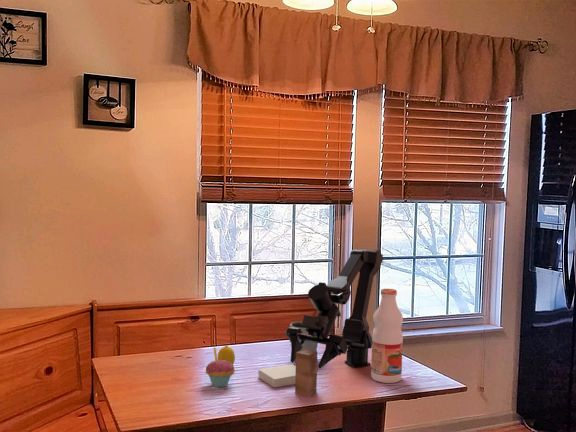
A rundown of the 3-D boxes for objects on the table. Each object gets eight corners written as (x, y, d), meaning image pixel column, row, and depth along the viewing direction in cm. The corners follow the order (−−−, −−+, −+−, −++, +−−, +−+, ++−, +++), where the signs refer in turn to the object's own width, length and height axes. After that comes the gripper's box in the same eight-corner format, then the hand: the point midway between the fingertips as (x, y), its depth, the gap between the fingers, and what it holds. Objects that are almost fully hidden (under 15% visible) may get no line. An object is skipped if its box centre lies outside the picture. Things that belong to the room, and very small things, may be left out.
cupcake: (211, 390, 169) (211, 349, 168) (201, 381, 176) (201, 342, 176) (238, 386, 173) (239, 346, 172) (228, 377, 180) (228, 339, 180)
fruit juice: (377, 371, 189) (379, 286, 187) (405, 377, 184) (408, 289, 183) (366, 380, 181) (368, 290, 179) (395, 385, 176) (398, 293, 175)
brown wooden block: (303, 389, 172) (304, 348, 171) (316, 392, 169) (317, 351, 169) (295, 393, 168) (295, 352, 167) (308, 396, 166) (309, 355, 165)
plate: (291, 371, 187) (291, 364, 187) (308, 381, 179) (308, 373, 179) (258, 377, 181) (258, 369, 181) (274, 387, 173) (274, 379, 172)
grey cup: (283, 358, 201) (284, 324, 200) (302, 352, 209) (303, 319, 208) (306, 365, 194) (307, 329, 194) (324, 358, 202) (325, 324, 201)
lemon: (231, 373, 184) (232, 348, 184) (215, 372, 186) (215, 347, 185) (236, 368, 190) (237, 343, 189) (220, 366, 191) (220, 342, 190)
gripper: (289, 300, 176) (267, 344, 168) (344, 308, 166) (324, 355, 158) (301, 321, 183) (281, 364, 175) (355, 330, 173) (337, 376, 165)
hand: (305, 364), depth 168 cm, fingers open, 9 cm apart
